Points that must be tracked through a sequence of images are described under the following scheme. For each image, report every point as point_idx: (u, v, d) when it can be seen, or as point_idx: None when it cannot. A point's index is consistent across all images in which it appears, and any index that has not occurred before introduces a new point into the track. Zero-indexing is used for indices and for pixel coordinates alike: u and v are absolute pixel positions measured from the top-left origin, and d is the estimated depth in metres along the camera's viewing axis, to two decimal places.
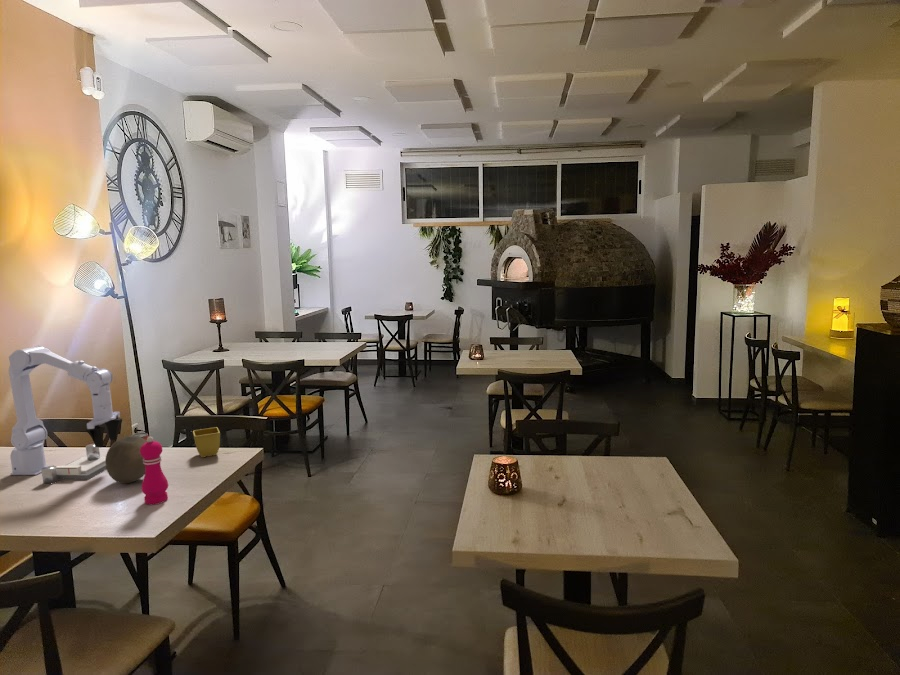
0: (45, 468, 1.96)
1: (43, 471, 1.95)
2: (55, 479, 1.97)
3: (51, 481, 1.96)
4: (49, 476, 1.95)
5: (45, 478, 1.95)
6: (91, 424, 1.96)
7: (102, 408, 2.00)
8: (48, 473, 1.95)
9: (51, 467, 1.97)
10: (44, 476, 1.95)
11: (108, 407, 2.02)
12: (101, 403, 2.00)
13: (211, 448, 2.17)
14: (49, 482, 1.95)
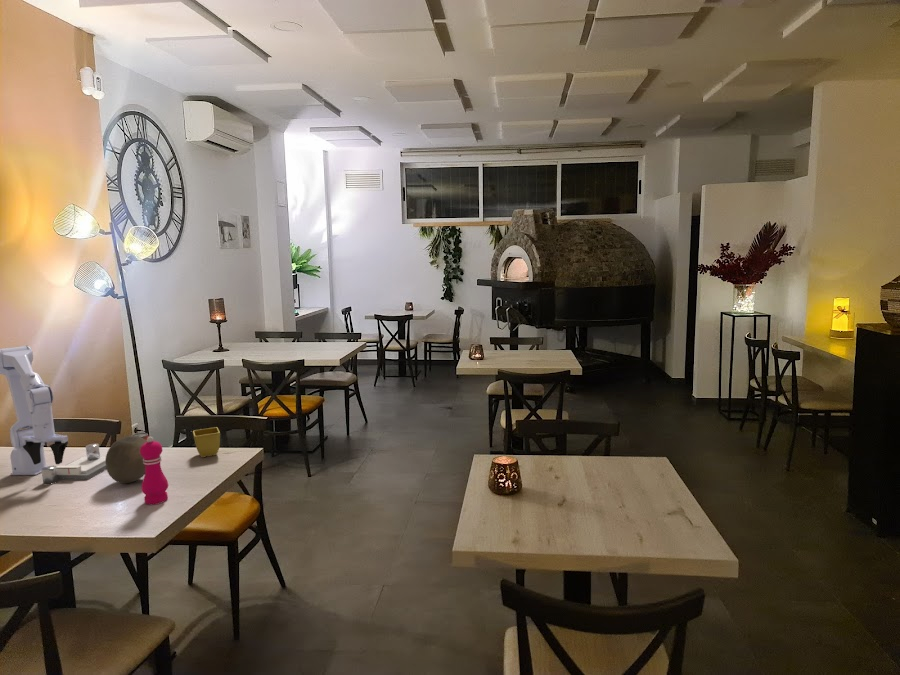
0: (45, 468, 1.96)
1: (43, 471, 1.95)
2: (55, 479, 1.97)
3: (51, 481, 1.96)
4: (49, 476, 1.95)
5: (45, 478, 1.95)
6: None
7: (32, 427, 1.93)
8: (48, 473, 1.95)
9: (51, 467, 1.97)
10: (44, 476, 1.95)
11: (34, 428, 1.92)
12: (35, 422, 1.92)
13: (211, 448, 2.17)
14: (49, 482, 1.95)
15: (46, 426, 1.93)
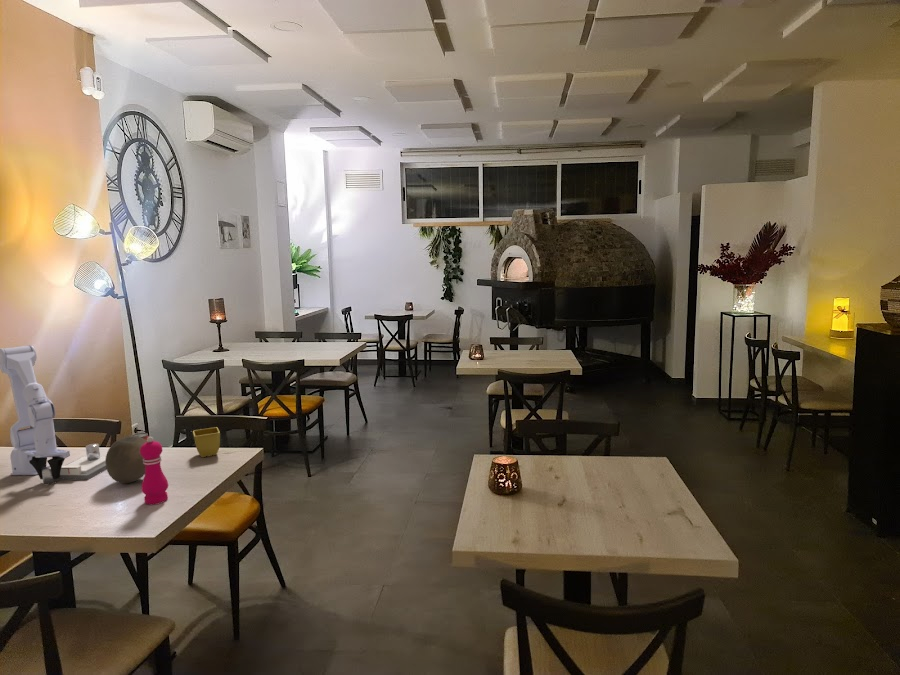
0: (45, 468, 1.96)
1: (43, 471, 1.95)
2: (55, 479, 1.97)
3: (51, 481, 1.96)
4: (49, 476, 1.95)
5: (44, 478, 1.95)
6: None
7: (34, 442, 1.94)
8: (48, 473, 1.95)
9: None
10: (44, 476, 1.95)
11: (36, 443, 1.93)
12: (37, 438, 1.92)
13: (211, 448, 2.17)
14: (49, 482, 1.95)
15: (48, 441, 1.94)
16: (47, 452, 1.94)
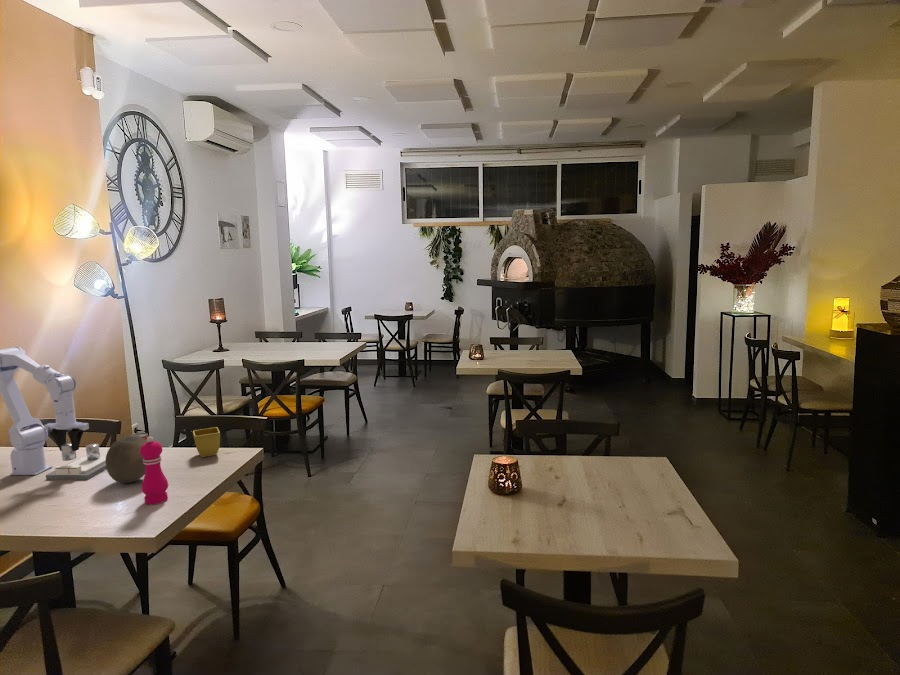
0: (64, 444, 2.01)
1: (62, 447, 1.99)
2: (73, 456, 2.01)
3: (69, 457, 2.00)
4: (67, 452, 2.00)
5: (63, 454, 2.00)
6: None
7: (55, 414, 1.99)
8: (67, 449, 2.00)
9: (70, 444, 2.02)
10: (63, 452, 2.00)
11: (56, 415, 1.98)
12: (61, 410, 1.97)
13: (211, 448, 2.17)
14: (67, 458, 2.00)
15: (68, 414, 1.98)
16: (67, 424, 1.98)
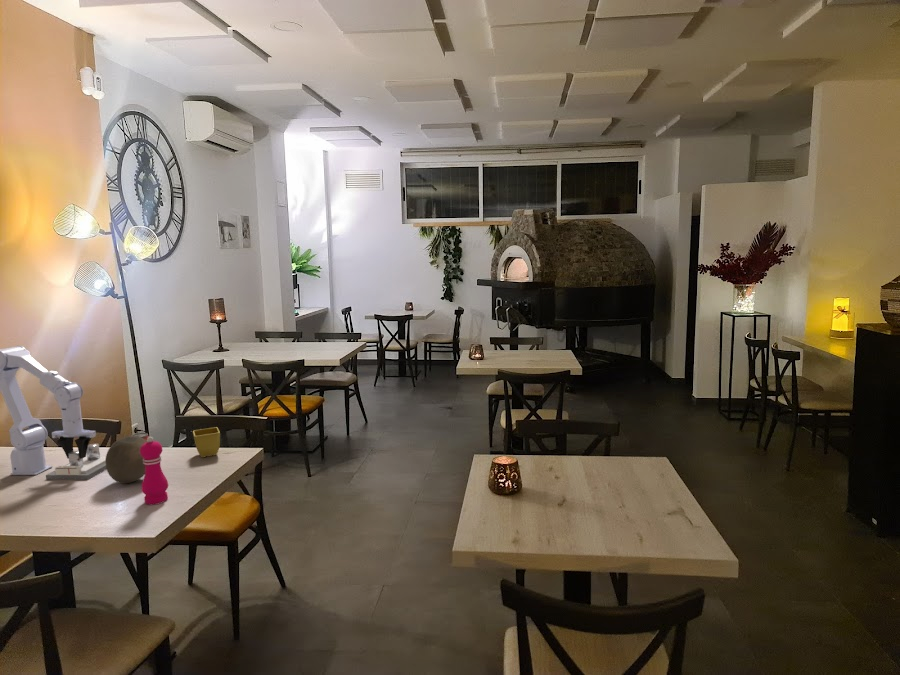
0: (72, 452, 2.03)
1: (69, 455, 2.02)
2: (81, 463, 2.03)
3: (77, 465, 2.02)
4: (74, 460, 2.02)
5: (71, 462, 2.02)
6: None
7: (62, 422, 2.01)
8: (74, 457, 2.02)
9: (77, 452, 2.04)
10: (70, 460, 2.02)
11: (64, 423, 2.00)
12: (69, 418, 1.99)
13: (211, 448, 2.17)
14: None
15: (75, 422, 2.01)
16: (74, 432, 2.01)
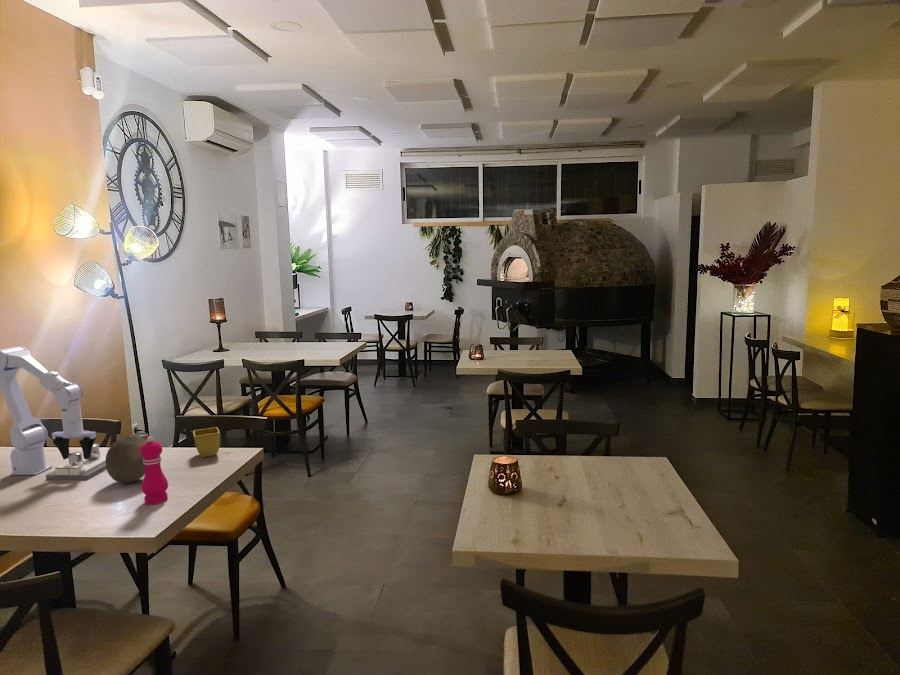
0: (72, 453, 2.03)
1: (69, 456, 2.02)
2: (81, 464, 2.03)
3: None
4: (74, 461, 2.02)
5: (71, 463, 2.02)
6: None
7: (62, 423, 2.01)
8: (74, 458, 2.02)
9: (77, 453, 2.04)
10: (70, 461, 2.02)
11: (64, 424, 2.00)
12: (69, 419, 1.99)
13: (211, 448, 2.17)
14: None
15: (75, 422, 2.01)
16: (74, 433, 2.01)
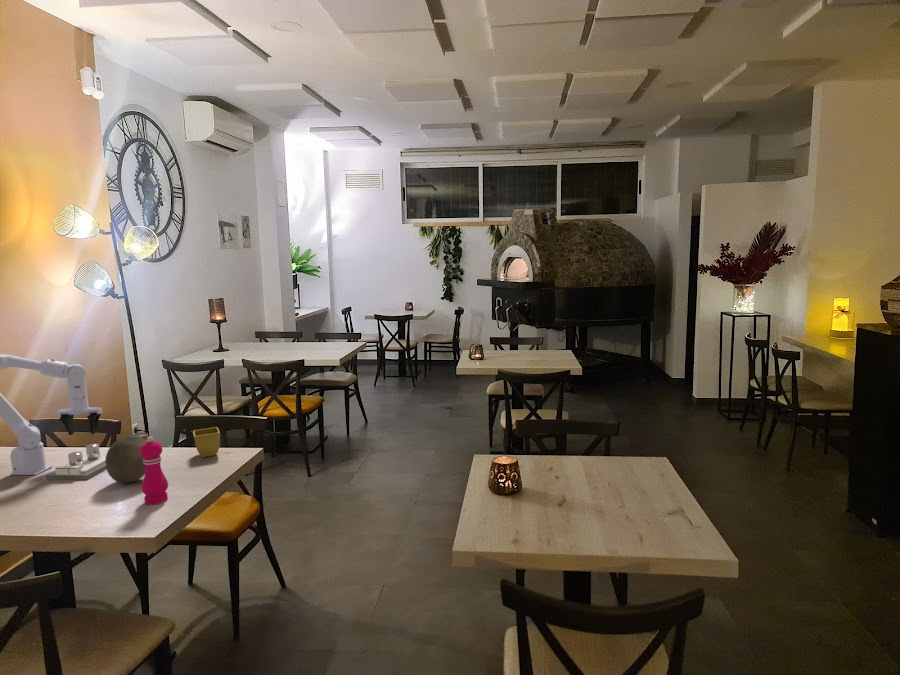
0: (72, 453, 2.03)
1: (69, 456, 2.02)
2: (81, 464, 2.03)
3: None
4: (74, 461, 2.02)
5: (71, 463, 2.02)
6: None
7: (69, 400, 2.12)
8: (74, 458, 2.02)
9: (77, 453, 2.04)
10: (70, 461, 2.02)
11: (71, 401, 2.11)
12: (83, 394, 2.13)
13: (211, 448, 2.17)
14: None
15: (83, 399, 2.13)
16: (82, 409, 2.13)
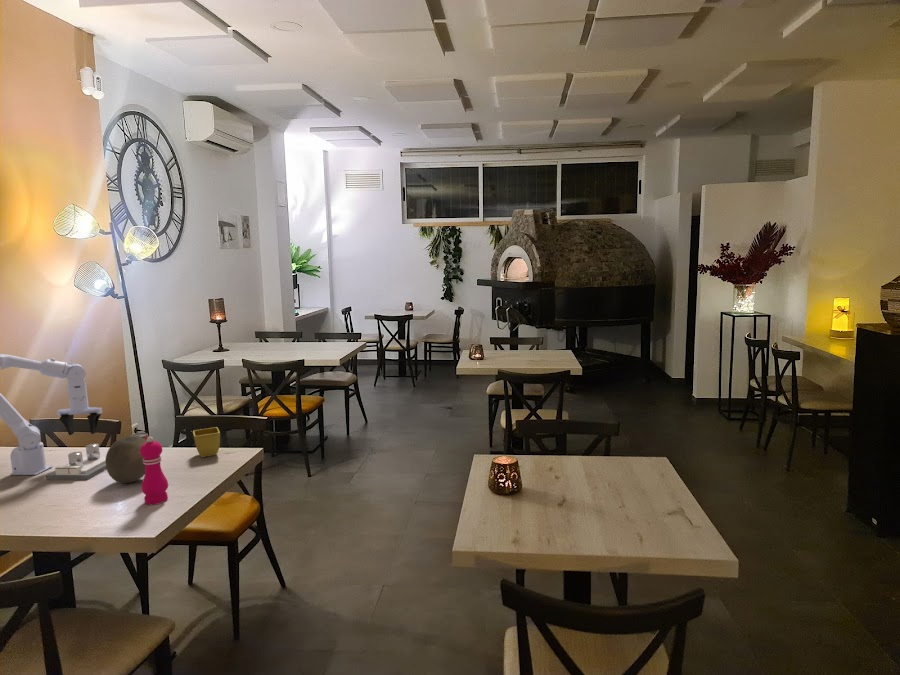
0: (72, 453, 2.03)
1: (69, 456, 2.02)
2: (81, 464, 2.03)
3: None
4: (74, 461, 2.02)
5: (71, 463, 2.02)
6: None
7: (69, 400, 2.12)
8: (74, 458, 2.02)
9: (77, 453, 2.04)
10: (70, 461, 2.02)
11: (72, 401, 2.11)
12: (83, 394, 2.13)
13: (211, 448, 2.17)
14: None
15: (83, 399, 2.13)
16: (82, 409, 2.13)
